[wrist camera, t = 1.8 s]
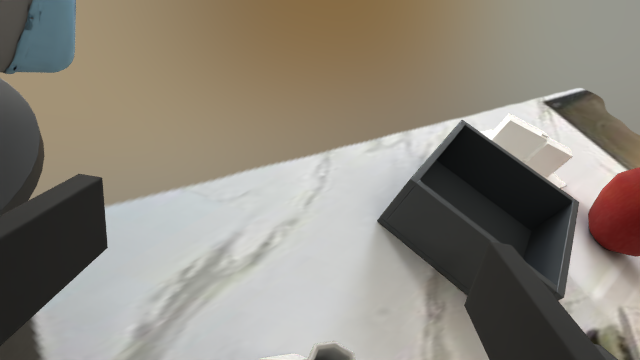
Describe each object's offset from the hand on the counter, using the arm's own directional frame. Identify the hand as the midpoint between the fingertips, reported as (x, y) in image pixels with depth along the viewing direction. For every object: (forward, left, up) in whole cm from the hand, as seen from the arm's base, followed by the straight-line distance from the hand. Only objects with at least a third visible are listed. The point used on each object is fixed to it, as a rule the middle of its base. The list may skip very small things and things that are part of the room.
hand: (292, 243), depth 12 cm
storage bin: (+10, +32, -20) cm, 39 cm away
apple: (+29, +52, -20) cm, 63 cm away
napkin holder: (+13, +58, -20) cm, 63 cm away
